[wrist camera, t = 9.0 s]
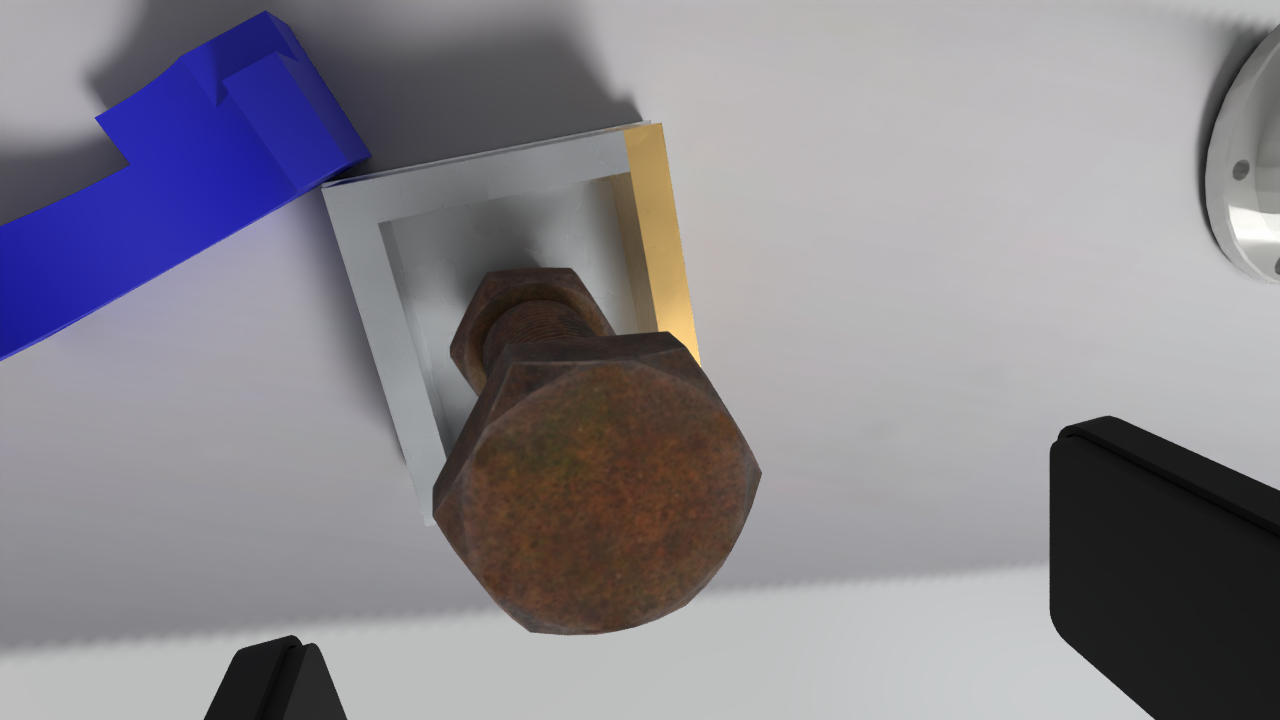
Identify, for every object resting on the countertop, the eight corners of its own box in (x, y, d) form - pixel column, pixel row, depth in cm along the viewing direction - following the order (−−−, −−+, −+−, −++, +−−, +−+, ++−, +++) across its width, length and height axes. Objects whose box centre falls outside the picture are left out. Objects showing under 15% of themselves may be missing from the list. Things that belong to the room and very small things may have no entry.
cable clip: (288, 25, 23) (235, -9, 18) (372, 156, 25) (348, 162, 19) (-62, 215, 23) (-230, 242, 17) (48, 337, 24) (-73, 397, 19)
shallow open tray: (643, 120, 27) (679, 117, 22) (691, 402, 30) (729, 445, 26) (326, 182, 25) (300, 190, 21) (416, 474, 28) (409, 532, 24)
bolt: (409, 283, 25) (374, 461, 11) (534, 202, 26) (650, 278, 12) (506, 414, 27) (576, 699, 13) (621, 338, 28) (806, 540, 14)
